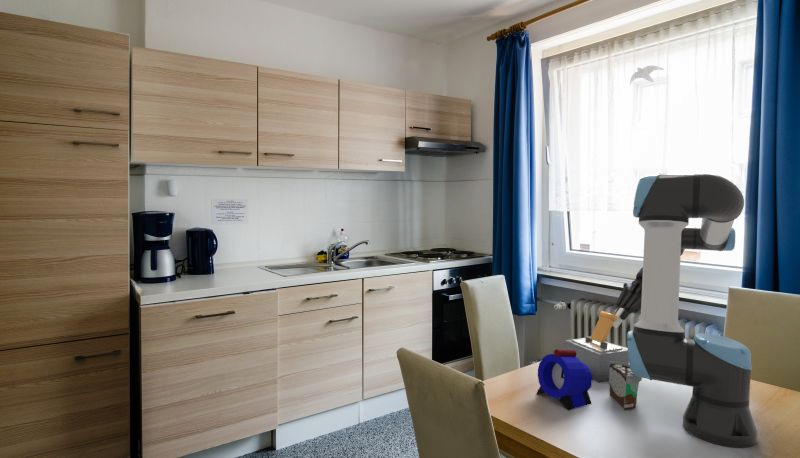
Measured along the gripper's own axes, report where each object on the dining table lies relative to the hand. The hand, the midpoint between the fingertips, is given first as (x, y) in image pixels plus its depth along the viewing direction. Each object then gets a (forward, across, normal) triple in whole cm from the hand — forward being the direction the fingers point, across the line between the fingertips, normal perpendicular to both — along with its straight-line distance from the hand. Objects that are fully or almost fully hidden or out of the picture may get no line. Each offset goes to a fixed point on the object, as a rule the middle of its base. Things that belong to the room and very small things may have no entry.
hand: (613, 325), depth 159 cm
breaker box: (+16, 0, -6) cm, 17 cm away
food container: (+22, -22, +1) cm, 32 cm away
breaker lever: (+9, 0, +1) cm, 9 cm away
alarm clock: (+32, -14, +11) cm, 37 cm away
